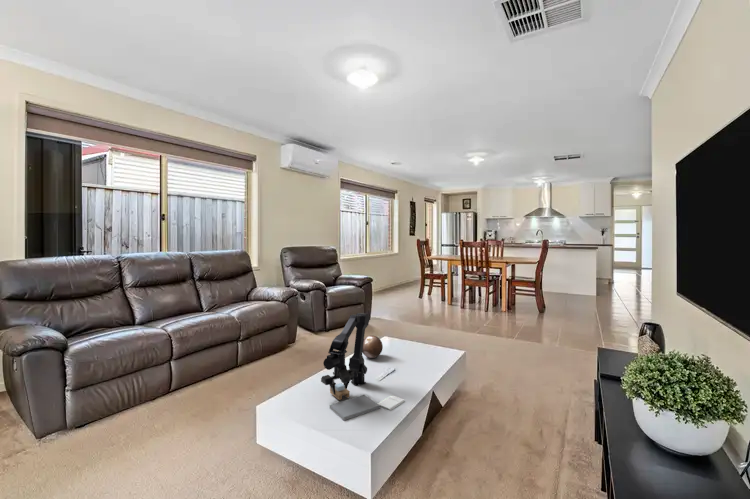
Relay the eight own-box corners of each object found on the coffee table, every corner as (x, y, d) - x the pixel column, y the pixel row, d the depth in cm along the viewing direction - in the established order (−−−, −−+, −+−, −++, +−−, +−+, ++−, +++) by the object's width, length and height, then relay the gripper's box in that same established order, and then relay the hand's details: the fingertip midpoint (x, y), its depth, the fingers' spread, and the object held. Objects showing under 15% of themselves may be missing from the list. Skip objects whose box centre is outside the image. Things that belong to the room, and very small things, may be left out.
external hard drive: (376, 406, 170) (391, 397, 179) (389, 412, 165) (404, 402, 174) (376, 403, 170) (391, 394, 179) (389, 408, 164) (404, 399, 174)
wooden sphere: (358, 359, 234) (357, 338, 234) (365, 353, 248) (364, 332, 248) (379, 362, 230) (379, 339, 229) (385, 354, 244) (385, 333, 244)
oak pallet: (340, 390, 185) (340, 384, 185) (349, 397, 177) (349, 391, 177) (330, 392, 182) (330, 387, 182) (339, 400, 174) (339, 394, 174)
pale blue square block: (341, 386, 182) (341, 383, 182) (344, 389, 179) (344, 385, 179) (334, 388, 180) (334, 384, 180) (337, 391, 177) (337, 387, 177)
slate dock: (364, 397, 179) (364, 394, 179) (379, 408, 167) (379, 405, 167) (329, 408, 167) (329, 405, 167) (343, 420, 156) (343, 417, 156)
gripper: (330, 372, 167) (330, 403, 168) (363, 364, 178) (363, 394, 178) (320, 365, 176) (320, 395, 177) (352, 358, 187) (352, 386, 187)
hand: (339, 392), depth 179 cm, fingers closed on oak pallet, 6 cm apart
